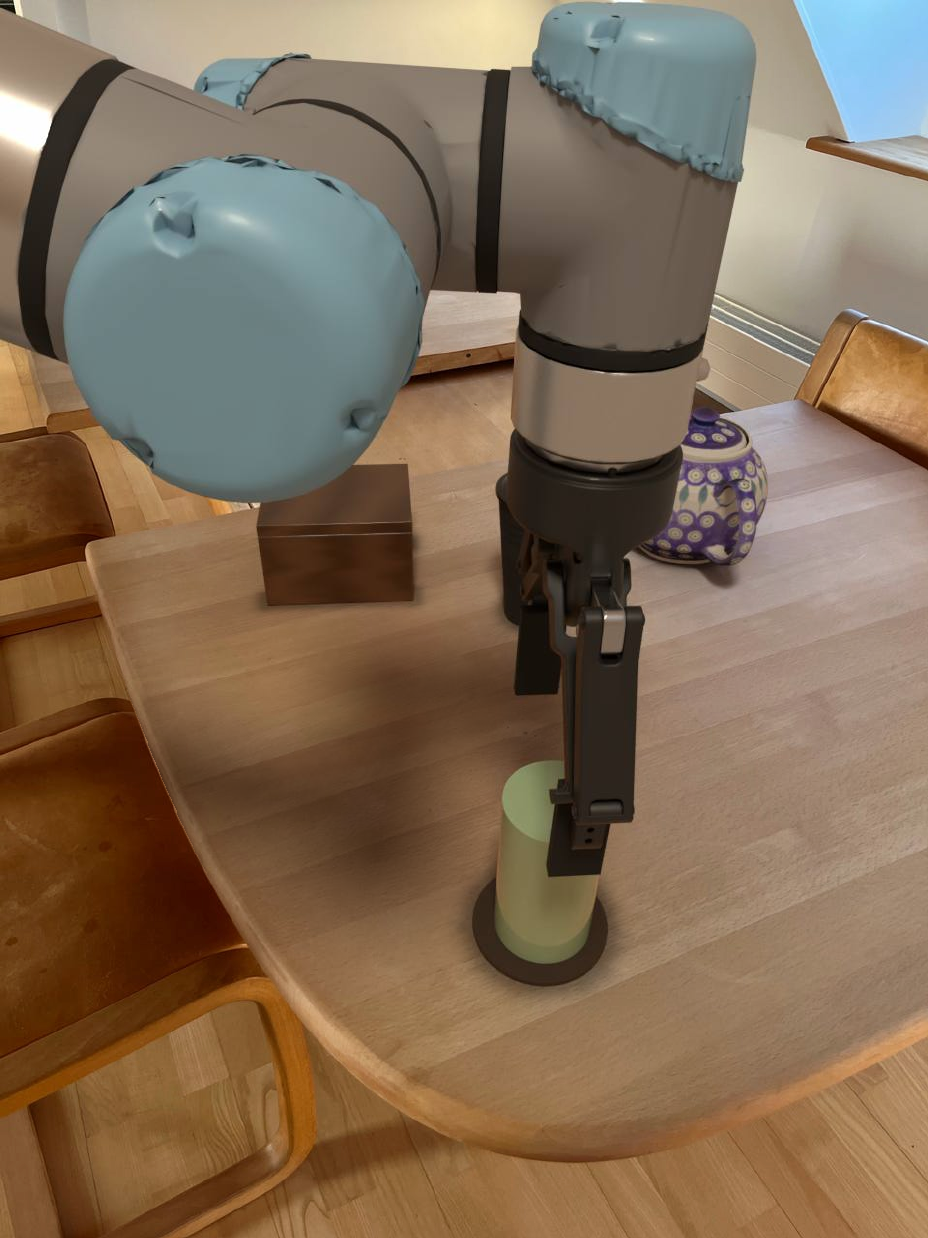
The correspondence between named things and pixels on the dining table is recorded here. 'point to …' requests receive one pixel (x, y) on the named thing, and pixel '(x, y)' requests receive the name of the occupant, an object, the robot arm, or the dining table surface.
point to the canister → (537, 874)
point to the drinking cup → (510, 554)
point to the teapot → (713, 495)
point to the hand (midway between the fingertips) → (552, 772)
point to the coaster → (530, 970)
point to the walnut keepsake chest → (340, 540)
